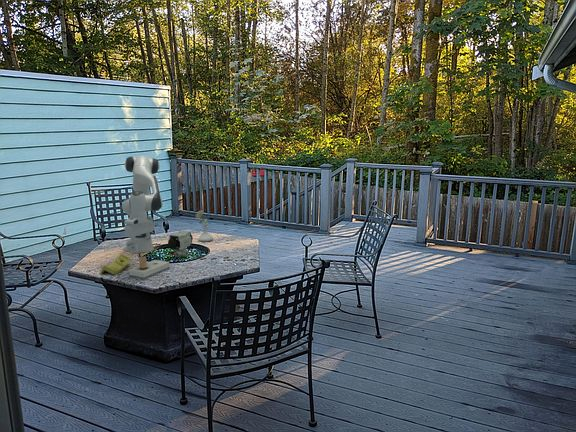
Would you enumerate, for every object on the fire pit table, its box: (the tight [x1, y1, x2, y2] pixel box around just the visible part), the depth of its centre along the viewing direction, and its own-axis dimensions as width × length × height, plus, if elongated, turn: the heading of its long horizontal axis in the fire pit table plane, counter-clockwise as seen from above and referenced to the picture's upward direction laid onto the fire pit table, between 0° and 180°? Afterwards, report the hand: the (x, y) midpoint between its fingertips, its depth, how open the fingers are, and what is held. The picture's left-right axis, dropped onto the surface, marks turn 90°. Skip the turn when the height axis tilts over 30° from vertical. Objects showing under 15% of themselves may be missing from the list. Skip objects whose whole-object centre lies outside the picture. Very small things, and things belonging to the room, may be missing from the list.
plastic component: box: [99, 253, 131, 275], centre depth 271 cm, size 20×7×10 cm
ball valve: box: [167, 230, 194, 258], centre depth 296 cm, size 18×8×18 cm, turn 154°
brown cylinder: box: [138, 255, 148, 270], centre depth 260 cm, size 4×4×10 cm
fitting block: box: [128, 259, 170, 280], centre depth 265 cm, size 22×12×4 cm, turn 153°
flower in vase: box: [195, 209, 214, 242], centre depth 335 cm, size 13×11×25 cm
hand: (141, 241), depth 257 cm, fingers open, 8 cm apart
